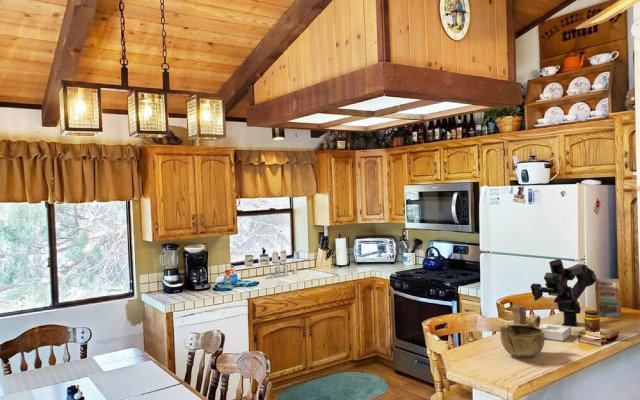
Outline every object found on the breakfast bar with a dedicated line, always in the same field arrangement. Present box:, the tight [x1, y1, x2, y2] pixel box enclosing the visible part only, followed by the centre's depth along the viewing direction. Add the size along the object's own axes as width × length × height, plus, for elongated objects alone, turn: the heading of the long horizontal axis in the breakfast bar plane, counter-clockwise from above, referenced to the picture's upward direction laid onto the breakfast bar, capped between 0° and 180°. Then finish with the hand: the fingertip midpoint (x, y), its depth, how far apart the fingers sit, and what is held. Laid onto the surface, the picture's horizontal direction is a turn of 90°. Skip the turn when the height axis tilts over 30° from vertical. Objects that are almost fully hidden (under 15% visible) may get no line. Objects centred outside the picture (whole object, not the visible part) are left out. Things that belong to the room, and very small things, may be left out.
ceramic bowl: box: [499, 314, 545, 359], centre depth 208 cm, size 22×17×15 cm
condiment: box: [583, 309, 601, 332], centre depth 227 cm, size 7×8×12 cm
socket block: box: [539, 323, 572, 343], centre depth 232 cm, size 12×12×4 cm
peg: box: [512, 304, 528, 325], centre depth 235 cm, size 4×4×14 cm
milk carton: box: [594, 278, 622, 319], centre depth 263 cm, size 11×11×19 cm
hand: (544, 300), depth 234 cm, fingers open, 9 cm apart
